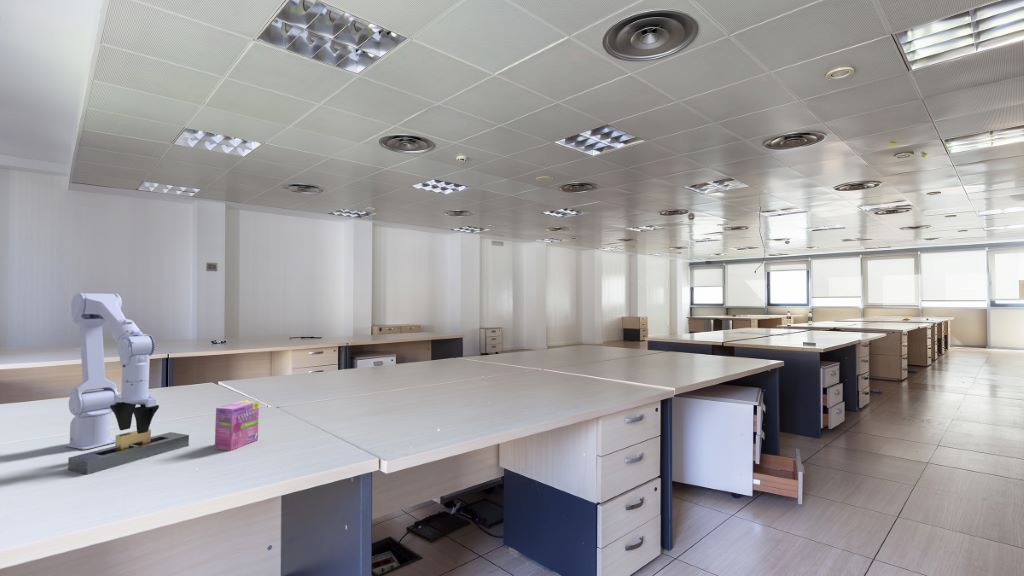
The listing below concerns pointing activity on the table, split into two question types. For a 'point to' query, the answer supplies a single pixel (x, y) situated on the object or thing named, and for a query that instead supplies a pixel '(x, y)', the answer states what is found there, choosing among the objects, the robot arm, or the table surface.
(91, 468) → the block
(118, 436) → the clip
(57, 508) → the table surface
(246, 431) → the box
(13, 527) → the table surface
